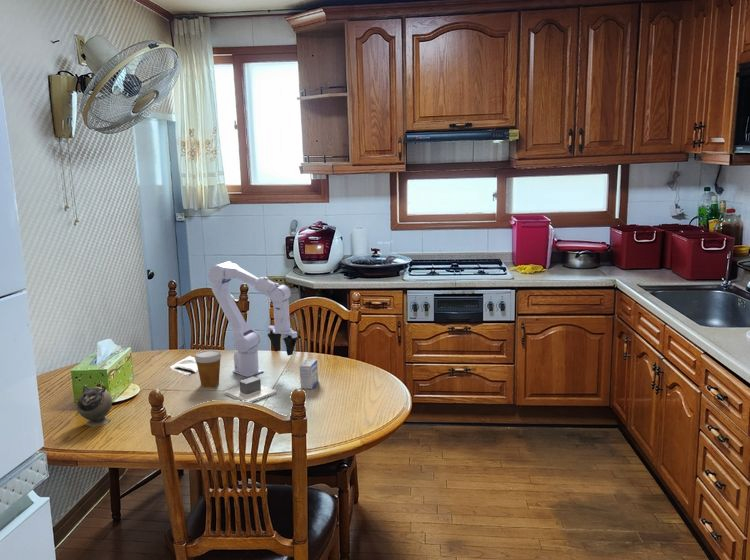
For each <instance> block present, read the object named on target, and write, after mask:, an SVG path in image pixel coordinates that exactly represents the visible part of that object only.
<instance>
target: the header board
mask: <svg viewBox="0 0 750 560" xmlns="http://www.w3.org/2000/svg"><path fill="white" fill-rule="evenodd" d="M275 393H276V394H277V390H275V389H272V388H270V387H266V386H265V385H262V384H261V390H259V391H256V392H253V393H250V394H248V395H247V394H244V393H242V392H240V385H238V386H235V387H233V388H230V389H227V390H225V391H224V395H226V396H229V397H231V398H234V399H235V400H238V401H240V400H244V401H249V402H253V401H256V400H258V399H261V398H264V397H266V398H268V396H269V397H271V396H273V395H272V394H274V395H276V394H275ZM270 395H271V396H270ZM264 399H265V398H264ZM261 400H262V399H261ZM258 401H259V400H258ZM256 402H257V401H256ZM253 403H254V402H253Z"/></svg>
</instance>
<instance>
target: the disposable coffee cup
mask: <svg viewBox="0 0 750 560" xmlns="http://www.w3.org/2000/svg"><path fill="white" fill-rule="evenodd" d="M194 358H195V360H196V362H195V363H196V364H197V367H198V370H197V372H198V376H199V379H200V385H201V386H200V387H203V388H214V387H217V386H219V384H220V372H221V371H220V370H221V358H222V354H221V352H220V351H219V350H216V349H205V350H201V351H198V352H196V353H195V357H194Z"/></svg>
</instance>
